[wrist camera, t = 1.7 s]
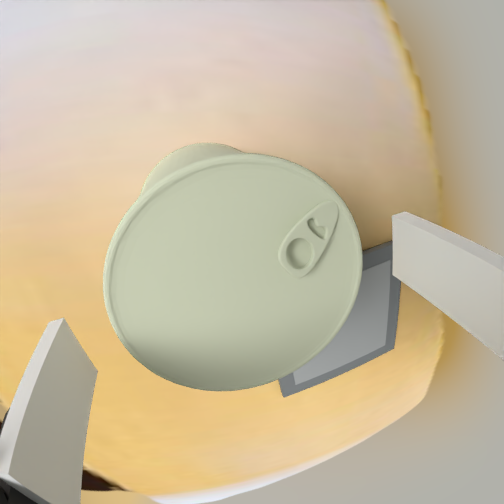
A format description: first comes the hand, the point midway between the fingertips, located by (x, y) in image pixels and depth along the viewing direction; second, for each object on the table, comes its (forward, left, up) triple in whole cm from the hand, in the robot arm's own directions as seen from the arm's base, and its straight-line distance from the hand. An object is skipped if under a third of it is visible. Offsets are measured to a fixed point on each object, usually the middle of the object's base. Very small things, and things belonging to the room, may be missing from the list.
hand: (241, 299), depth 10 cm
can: (0, 0, -11) cm, 11 cm away
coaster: (+14, +9, -11) cm, 20 cm away
